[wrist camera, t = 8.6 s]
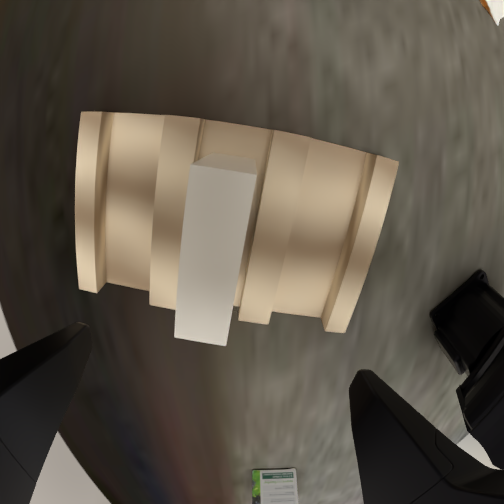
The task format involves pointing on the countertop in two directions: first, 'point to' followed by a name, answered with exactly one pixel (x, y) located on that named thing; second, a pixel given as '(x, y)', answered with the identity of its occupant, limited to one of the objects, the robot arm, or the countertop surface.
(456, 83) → the countertop surface
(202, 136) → the slotted rack
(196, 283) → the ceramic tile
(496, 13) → the rubber gloves
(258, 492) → the syrup box
